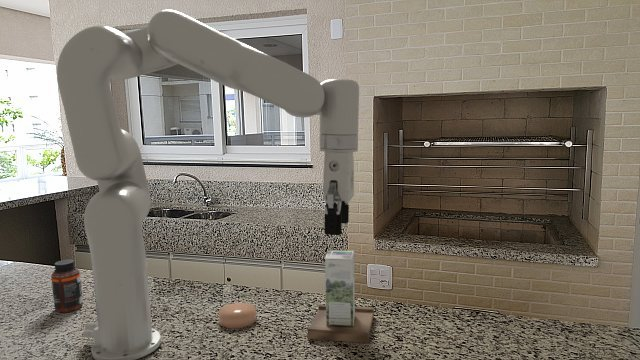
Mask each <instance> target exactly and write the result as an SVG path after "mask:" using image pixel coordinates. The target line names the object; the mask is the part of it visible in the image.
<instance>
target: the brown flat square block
mask: <svg viewBox="0 0 640 360" xmlns="http://www.w3.org/2000/svg"><path fill="white" fill-rule="evenodd" d="M374 309H375V308H374V307H370V306H368V307H367V306H365V307H364V306H355V319H354V326H327V325H326V304H319V305H318V309H317V311H316V314H315V316H314V318H313V319H312V321H311V324H310V326H308V327H307V339H310V340H321V341H335V342H346V343H348V342H349V343H358V344H359V343H360V344H361V343H362V344H368V343H369V340H370V335H371V330H372V327H373V323H374V317H375V316H374V315H375V314H374V313H375V312H374Z"/></svg>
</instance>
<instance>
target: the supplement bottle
mask: <svg viewBox="0 0 640 360" xmlns="http://www.w3.org/2000/svg"><path fill="white" fill-rule="evenodd" d="M50 279H51V288H52V289H51V290H52V296H53V304H54V305H53V306H54V310H55V311H56V312H57V313H69V312H70V313H71V312H73V311H76V310H78V309H80V308H82V306H83V305H84V302H83V291H82V284H81V282H82V281H81V273H80V270H79V269H78V268H76V267H75V261H74V260H73V259H63V260H59V261H56V262H55V263H54V271H53V272H52V273H51V275H50Z"/></svg>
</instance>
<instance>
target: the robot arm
mask: <svg viewBox="0 0 640 360" xmlns="http://www.w3.org/2000/svg"><path fill="white" fill-rule="evenodd" d="M60 51H61V52H60V54H59V57H58V61H57V66H56V77H57V78H56V79H57V84H58V91H59V94H60V98H61V101H62V105H63V110H64V114H65V119H66V125H67V128H68V133H69V137H70V141H71V145H72V149H73V154H74V158H75V163H76V165H77V168H78V170H79V172H81V174H82V175H83V176H85V177H86V178H87V179H89V180H92V181H96V182H97V186H98V190H99V191H98V192H96V193H95V194H94V195H93V196H92V197H91V198H90V200H89V201H88V202H87V205H86V206H85V210H84V215H83V222H84V230H85V233H86V238H87V242H88V246H89V252H90V260H91V268H92V276H93V278H92V279H93V286H94V299H95V306H96V319H97V320H96V321H97V322H92V321H91V322H87V323H86V325H85V326H84V327H85V330H84V331H83V333H82V336H83V337H84V338H93V340H94V343H93V344H92V346H91V347H90V348H91V350H90V352H91V356H92V358H93V359H94V360H138V359H141V358H144V357H146V356H148V355H150V354H151V353H153V352H154V351H156V350H157V349H158V348H159V346H161V343H162V336H161V333H160V332H159V331H158V330H157V329H154V328H153V326H152V325H153V324H152V312H151V304H150V303H151V302H150V301H151V300H150V287H149V277H148V263H147V253H146V251H147V250H146V246H145V240H144V234H143V225H142V223H143V221H144V220H145V219H147V216H148V215H149V212H150V210H151V206H152V205H151V204H152V199H151V193H150V188H149V184H148V178H147V175H146V171H145V165H144V161H143V157H142V154H141V149H140V147H139V145H138V142H137V141H136V139H135V138H134V137H133V135H132V134H130V133H129V132H128V131H126V130H124V129H122V127H121V123H120V120H119V116H118V109H117V105H116V102H115V101H116V100H115V99H114V96H113V93H112V90H111V79H113V80H122V81H123V80H129V79H134V78H136V77H137V78H138V77H141V76H144V75H146V74H147V75H148V74H149V73H150V74H151V73H154V72H156V71H161V70H164V69H168V68H171V67H174V66H176V65H179V66H182V67H185V68H187V69H188V70H190V71H193V72H195V73H197V74H200V75H201V76H204V77H205V78H207V79H210V80H211V81H214V82H216V83H218V84H219V85H223V86H224V87H227V88H230V89H233V90H236V91H237V90H238V91H241V92H244V93H247V94H249V95H252V96H255V97H256V98H259V99H261V100H263V101H265V102H267V103H269V104H272V105H273V106H275V107H277V108H280V109H282V110H284V111H285V113H287V114H289V115H290V116H292V117H296V118H310V117H313V116H319V151H320V152H324V158H323V160H324V161H323V185H322V186H323V188H322V191H323V192H322V193H323V195H322V197H323V201H324V202H325V207H324V208H325V209H324V228H323V229H324V231H323V232H324V235H330V236H331V235H332V236H340V235H342V224H343V225H345V224H348V223H349V219H350V218H349V216H350V215H349V211H350V204H349V203H350V201H351V200H352V199H353V198H354V195H355V166H354V163H355V162H354V161H355V160H354V153H356V152H359V149H358V147H359V113H360V111H359V109H360V86H359V84H358V82H357V81H356V80H354V79H347V78H332V79H326V80H323V81H320V80H318V79H317V78H316V77H314V76H312V75H310V74H309V73H306V72H305V71H302V70H300V69H299V68H296V67H295V66H292V65H290V64H288V63H287V62H285V61H283V60H280V59H278V58H275V57H273V56H271V55H269V54H267V53H264V52H262V51H260V50H258V49H256V48H254V47H252V46H250V45H247V44H246V43H244V42H241V41H240V40H238V39H235V38H233V37H230V36H229V35H227V34H225V33H223V32H220V31H219V30H217V29H215V28H212V27H211V26H208V25H206V24H205V23H203V22H200V21H198V20H196V19H194V18H193V17H191V16H189V15H186V14H184V13H182V12H179V11H177V10H173V9H163V10H160V11H158V12H157V13H155V14H154V15H153V16H152V17H151V18H150V20H149V22H148V25H147V27H143V28H139V29H137V30H133V31H129V32H126V33H124V32H121V31H120V30H118V29H116V28H114V27H111V26H110V27H109V26H106V25H105V26H104V25H94V26H89V27H87V28H84V29H82V30H81V31H79V32H77V33H76V34H74V35H73V36H72V37H71V38H70V39H69V40H68V41H67V42H66V43H65V45H64V46H63V48H62V50H60Z"/></svg>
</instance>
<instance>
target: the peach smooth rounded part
mask: <svg viewBox="0 0 640 360" xmlns="http://www.w3.org/2000/svg"><path fill="white" fill-rule="evenodd" d="M218 322H219V323H218V324H219V325H220V326H222V327H223V328H227V329H242V328H247V327H250V326H252V325H253V324H255V322H257V307H256V306H255V305H254V304H252V303H247V302H235V303H228V304H226V305H224V306H222V307H221V308H219V309H218Z"/></svg>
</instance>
